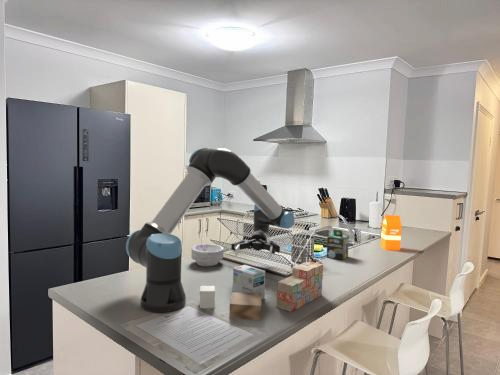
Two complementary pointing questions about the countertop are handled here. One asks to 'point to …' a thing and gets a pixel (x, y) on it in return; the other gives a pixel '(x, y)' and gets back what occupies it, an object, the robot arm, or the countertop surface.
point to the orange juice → (391, 232)
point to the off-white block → (207, 296)
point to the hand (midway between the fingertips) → (253, 253)
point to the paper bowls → (207, 254)
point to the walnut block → (245, 306)
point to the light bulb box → (249, 280)
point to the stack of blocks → (300, 286)
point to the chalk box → (337, 245)
